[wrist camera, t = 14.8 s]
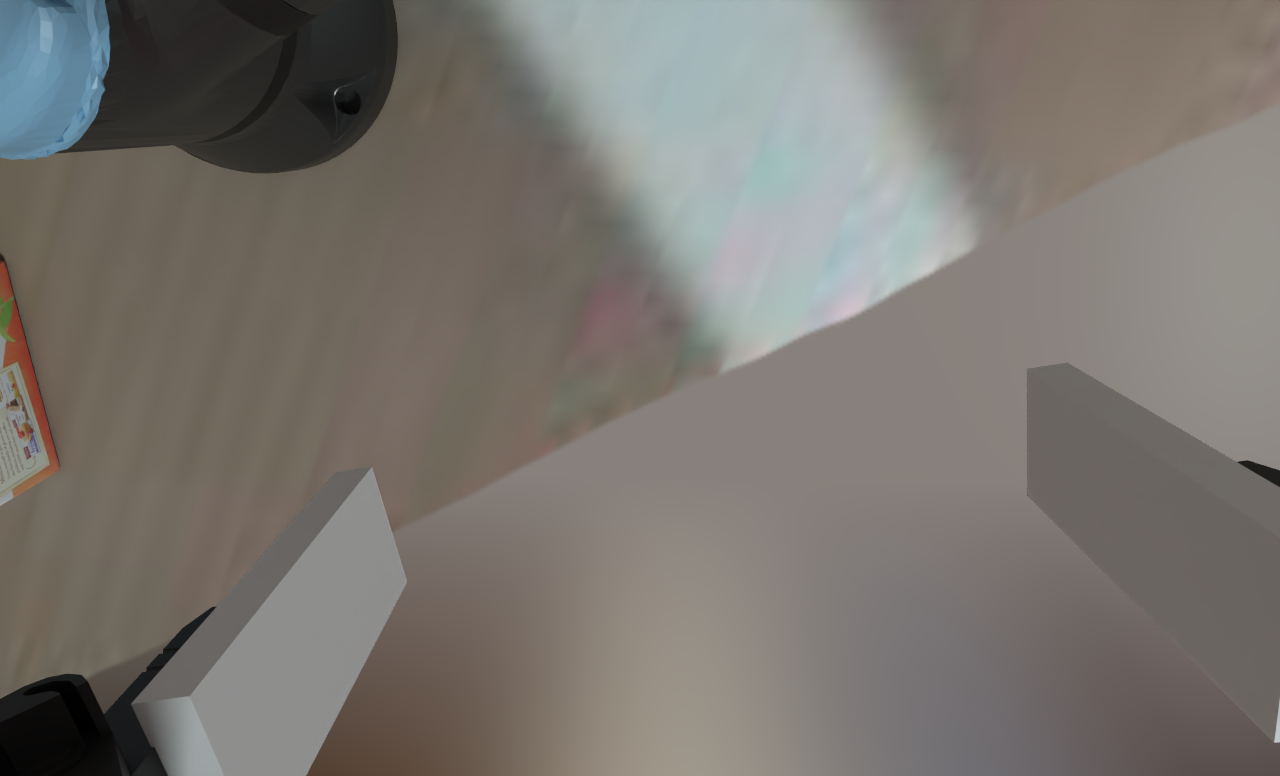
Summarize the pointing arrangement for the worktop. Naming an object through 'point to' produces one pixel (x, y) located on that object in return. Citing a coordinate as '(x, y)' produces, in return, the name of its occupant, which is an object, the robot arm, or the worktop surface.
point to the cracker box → (20, 407)
